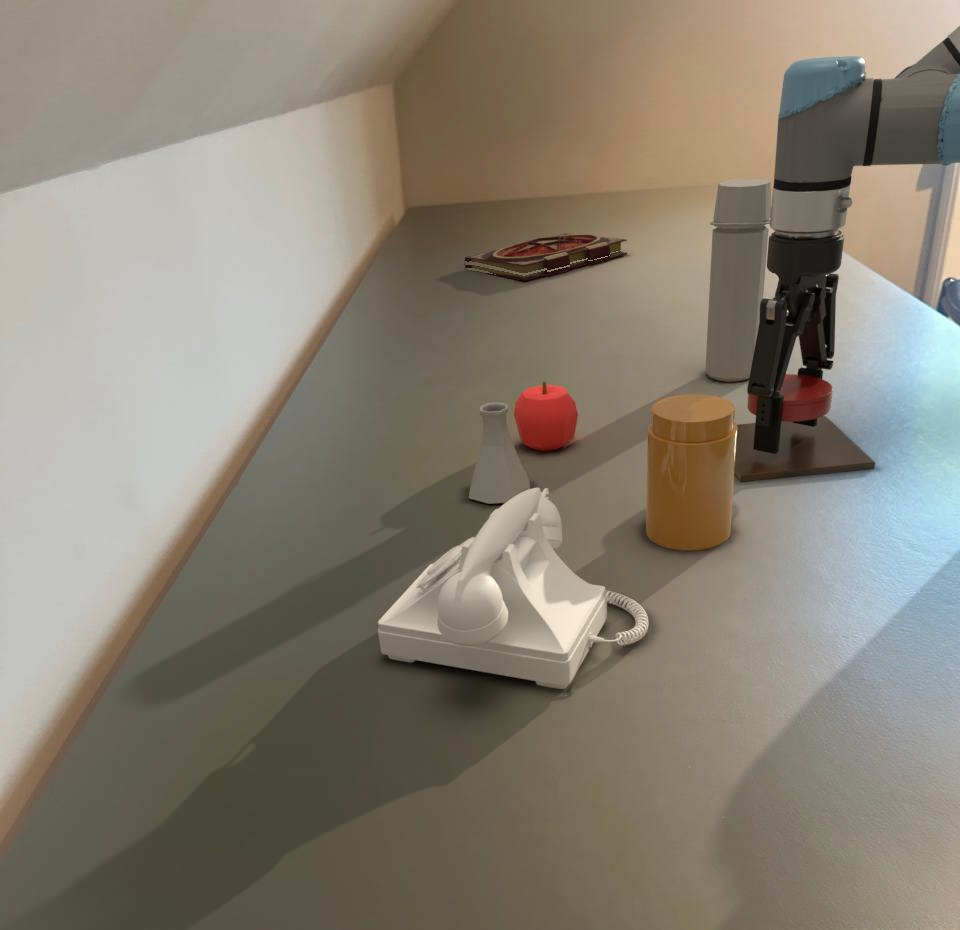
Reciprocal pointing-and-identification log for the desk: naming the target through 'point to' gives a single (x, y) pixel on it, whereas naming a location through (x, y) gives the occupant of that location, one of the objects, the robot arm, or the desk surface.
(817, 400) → the lid
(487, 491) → the flask
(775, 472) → the pad
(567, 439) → the apple
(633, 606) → the telephone
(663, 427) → the jar
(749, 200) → the water bottle
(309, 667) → the desk surface
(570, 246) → the book
